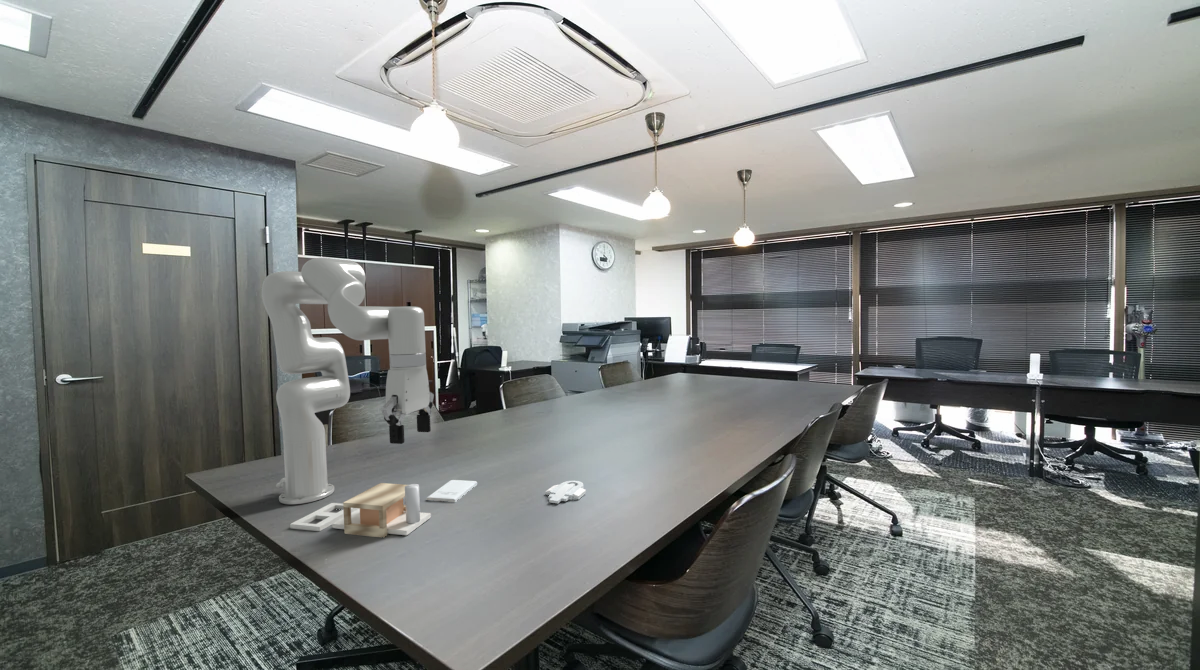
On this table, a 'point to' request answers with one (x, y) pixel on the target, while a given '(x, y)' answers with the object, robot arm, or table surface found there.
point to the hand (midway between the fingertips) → (411, 437)
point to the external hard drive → (452, 490)
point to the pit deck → (321, 518)
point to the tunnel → (373, 508)
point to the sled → (393, 514)
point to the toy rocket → (566, 491)
